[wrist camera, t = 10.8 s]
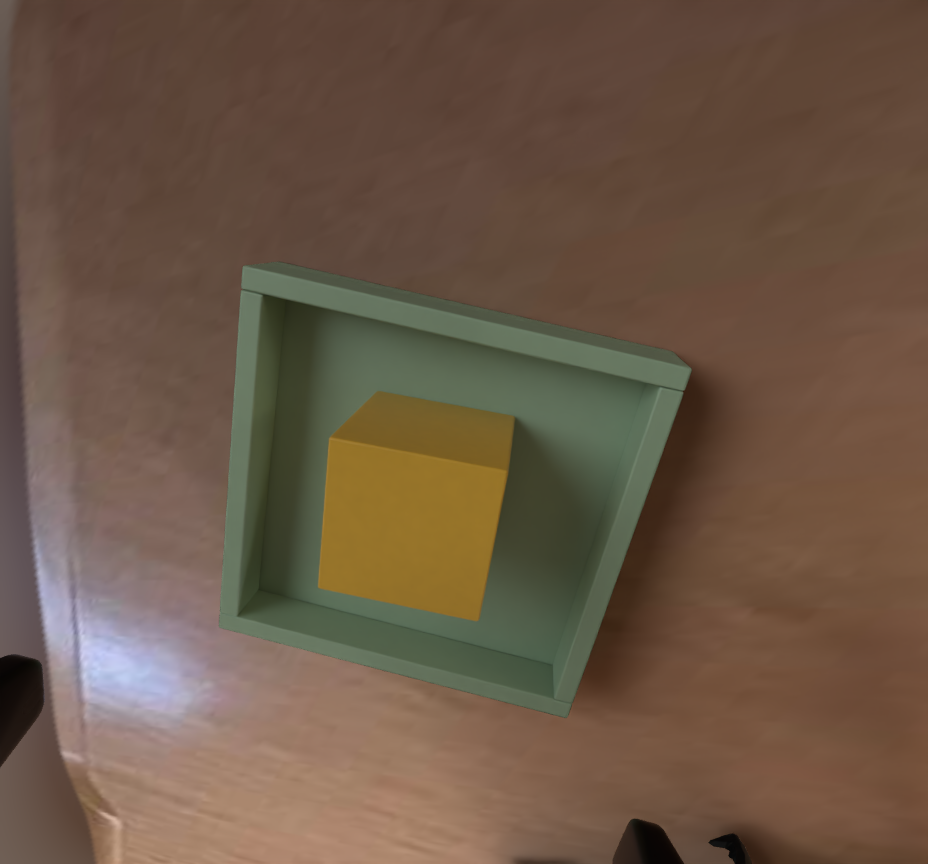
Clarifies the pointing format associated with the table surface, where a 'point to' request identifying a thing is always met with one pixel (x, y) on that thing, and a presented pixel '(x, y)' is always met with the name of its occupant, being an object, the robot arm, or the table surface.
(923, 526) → the table surface
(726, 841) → the juice carton
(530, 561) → the tray
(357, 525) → the mustard cube
